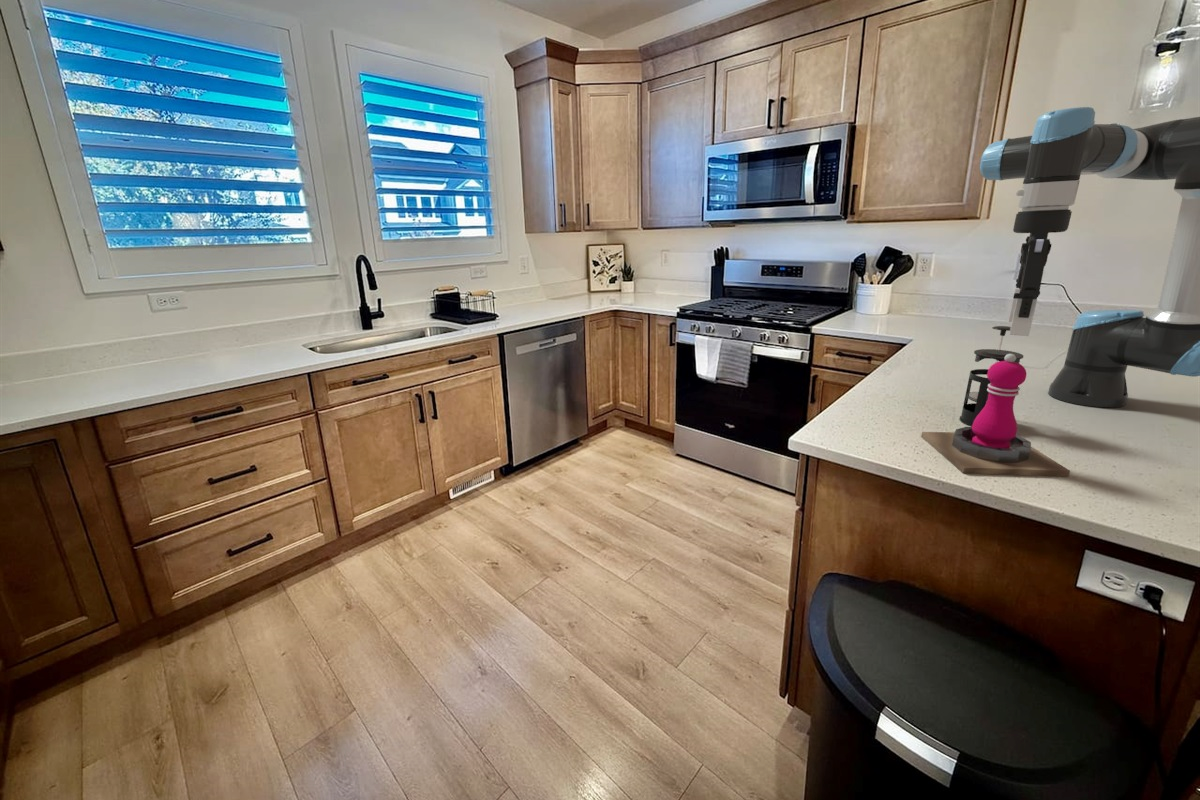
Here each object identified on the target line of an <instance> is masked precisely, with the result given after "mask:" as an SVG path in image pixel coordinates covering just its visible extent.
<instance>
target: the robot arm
mask: <svg viewBox="0 0 1200 800" xmlns="http://www.w3.org/2000/svg"><path fill="white" fill-rule="evenodd" d="M1095 117H1096V111H1095V109H1094V108H1093V107H1089V106H1083V107H1082V106H1078V107H1069V108H1062V109H1057V110H1053V111H1049V112H1045V113H1043V114H1042V115H1040V116H1039V117H1038V118H1037V120H1036V122H1035V125H1034V129H1033V133H1032V135H1027V136H1021V137H1020V136H1019V137H1015V138H1006V139H1003V140H998V141H994V142H991V143H990V144H989V145H988V146H987V147H986V148H985V150H984V151H983V153H982V155H981V157H980V164H979V170H980V171H979V172H980V173H981V174H980V175H981V176H982V177H983V178H984V179H985V180H987V181H1006V180H1013V179H1023V182H1022V187H1021V188H1022V189H1020V190H1017V192H1016V196H1017V197H1020V198H1019V200H1018V201H1019V202H1018V207H1019V208H1020V209H1021V211H1018V212H1017V213H1016V214H1015V219H1014V222H1013V223H1014V224H1013V229H1012V231H1013V233H1015V234H1029V235H1028V236H1027V237H1026V238H1025V243H1024V242H1023V243H1022V244H1021V247H1020V259H1019V264H1020V266H1019V271H1018V275H1017V278H1016V280H1015V282H1016V284H1015V289H1014V293H1013V296H1012V297H1013V298H1012V304H1011V306H1010V310H1009V312H1010V313H1009V317H1008V321H1007V322H1008V323H1011V324H1010V325H1011V326H1010V327H1011V329H1010V331H1009V334H1008V335H1009V336H1020V337H1029V336H1030V332H1031V328H1032V324H1033V320H1034V315H1035V309H1036V306H1037V302H1038V298H1039V296H1040V295H1041V291H1040V290H1041V286H1042V281H1043V275H1044V269H1045V266H1046V264H1047V262H1048V257H1049V254H1050V253H1051V250H1052V243H1051V239H1050V238H1048V236H1049V233H1052V234H1053V233H1055V234H1056V233H1063V232H1066V231H1068V229H1069V226H1070V221H1071V218H1072V217H1071V216H1072V213H1073V211H1071V210H1072V209H1070V206H1073V205H1075V203H1076V197H1077V193H1078V190H1079V185H1080V179H1081V176H1083V175H1084V176H1085V175H1089V176H1090V175H1096V176H1099V177H1100V178H1103V179H1127V180H1139V181H1141V180H1143V181H1162V180H1167V181H1168V180H1175V182H1174V187H1173V190H1174V192H1176V193H1178V194H1179V195H1180V196H1181V202H1180V207H1179V211H1178V216H1177V220H1176V224H1175V229H1174V234H1173V238H1172V243H1171V247H1170V250H1169V251H1170V252H1169V257H1168V260H1167V265H1166V268H1165V269H1166V270H1165V274H1164V279H1163V284H1162V287H1161V291H1160V297H1159V301H1158V306H1157V307H1155V309H1152V310H1151V311H1149V312H1148V313H1147V314H1146V315H1145V313H1144V311H1143V310H1141V309H1140V310H1139V309H1104V310H1103V309H1100V310H1089V311H1084V312H1082V313H1080V314H1078V316H1077V317H1076V321H1075V323H1074V326H1073V328H1072V333H1071V337H1070V341H1069V344H1068V348H1067V353H1066V356H1065V361H1064V365H1063V366H1062V368H1061V370H1060V371H1058V372H1059V373H1057V375H1056V376H1055V378H1054V379H1053V381H1052V382H1051V383H1050V384H1049V388H1048V390H1047V394H1048V395H1049V396H1050V397H1052V398H1053V399H1056V400H1059V401H1062V402H1067V403H1070V404H1071V403H1072V404H1076V405H1080V406H1087V407H1095V408H1096V407H1097V408H1121V407H1124V406H1125V405H1127V401H1128V398H1129V393H1128V386H1127V379H1126V371H1127V368H1128V366H1129V367H1134V368H1139V369H1146V370H1150V371H1154V372H1160V373H1167V374H1170V375H1173V376H1176V375H1178V376H1184V377H1185V376H1187V377H1194V378H1195V377H1200V116H1197V117H1188V118H1182V119H1175V120H1169V121H1164V122H1158V123H1156V124H1155V123H1154V124H1151V125H1148V126H1143V127H1137V128H1131V127H1130V126H1128V125H1123V124H1118V123H1114V122H1113V123H1109V124H1108V123H1107V124H1106V123H1104V124H1102V123H1100V124H1099V123H1097V124H1095V123H1096V120H1095ZM1144 316H1146V317H1144Z"/></svg>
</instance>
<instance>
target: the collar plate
mask: <svg viewBox="0 0 1200 800" xmlns="http://www.w3.org/2000/svg"><path fill="white" fill-rule="evenodd" d="M954 434H955V431H954V432H953V431H952V432H951V431H949V432H948V431H947V432H946V431H945V432H944V431H922V432H921V434H920V435H921V436H920V437H921V438H922V439H923V440H924V441H926V442H927V443H928V444H929V445H930V446H931V447H932V448H934V450H936V451H937V452H938V453H939V454H941V456H942V457H944V458H945V459H946V460H947V461H948V462H950V463H951V464H952V465H953V467H955V468H956V469H958V470H959V471H960V472H961V473H962V474H974V475H976V474H977V475H978V474H979V475H981V474H982V475H1004V476H1007V475H1008V476H1009V475H1010V476H1013V475H1015V476H1037V477H1038V476H1043V477H1069V476H1070V473H1071V470H1070V469H1068V468H1066V467H1065V466H1063V465H1062V464H1060V463H1058V462H1057V461H1056V460H1054V459H1052V458H1051V457H1049V456H1047V455H1046V454H1044V453H1043V452H1040V450H1038V449H1036V448H1035V447H1034V446H1031V450H1030V454H1029V458H1028V460H1025V461H1022V462H1018V463H1002V462H993V461H988V460H983V459H978V458H975V457H972V456H970V455H967V454H964V453H962V452H960V451H958V450H957V449H956V448H955V447H953V446H952V443H953V438H954ZM969 441H972V440H969ZM1010 448H1012V447H1010Z"/></svg>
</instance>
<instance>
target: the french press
mask: <svg viewBox="0 0 1200 800" xmlns="http://www.w3.org/2000/svg"><path fill="white" fill-rule="evenodd" d="M992 329H993V330H997V331H1000V333H999V336H1001V337H1000V341H999V345H998V349H996V348H995V349H994V348H993V349H992V348H991V349H990V348H987V349H985V348H981V349H975V350H974V352H973V354H975V358H974V361H975V363H978V362H980V361H983V360H984V359H986V360H987V359H992V360H995V363H997V362H1000V361H1005V360H1004V358H1005V356H1006V355H1007V354H1014V355H1015V356H1016V360H1015V361H1014V362H1016V363H1019V364H1020V361H1021V359H1022V360H1023V359H1024V355H1023V354H1022V353H1019V352H1015V351H1011V350H1007V349H1006V350H1005V349H1001V348H1002V345H1003V339H1004V337H1005V336H1006V334H1007V332H1010V329H1011V326H1005V325H997V326H996V325H995V326H993V327H992ZM988 370H989V368H988V369H986V368H980V369H978V368H977V369H972V370H969V371H970V372H969V375H968V376H969V377H968V381H967V387H966V390H965V396H964V401H963V406H962V410H961V415H960V416H959V417H958V418H959V421H960V422H961V423H963V424H965V425H966V426H968V427H972V425H973V422H974V420H975V418H976V417H977V415H978V414H979V413H980V412H981V411H982V409H983V408H984V406H985V405H986V403H987V400H988V395H989V392H988V391H987V389H988V384H990V383H991V382H990V381H989V379H988V378H987V377H985V376H984V377H983V376H981V375H986V376H987V372H988ZM979 375H980V376H979ZM973 381H974V382H977V383H979V384H980V385H979V388H978V391H971V388H972V387H971V386H972V382H973ZM969 400H970V401H971V402H973V403H968V402H969ZM974 402H975V403H974Z"/></svg>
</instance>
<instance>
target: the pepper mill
mask: <svg viewBox="0 0 1200 800" xmlns="http://www.w3.org/2000/svg"><path fill="white" fill-rule="evenodd" d="M1004 360H1005V361H1000V362H999V361H998V362H997V363H993V364H991V366H989V368H988V369H989V370H988V372H987V375H986V376H987V377H986V378H988V379H989V381H990V382H991V383H990V384H988V389H987V391H988V392H989V395H988V400H987V403H986V405H985V406H984V408H983V409H982V411H981V412H980V413H979V414H978V415H977V417H976V418H975V420H974V422H973V425H972V426H971V427H972V430H973V432H974V433H975V435H976V436H974V437H973V438H972V442H975V443H978V444H981V445H985V446H990V447H996V448H1010V443H1009V442H1008V441H1010V440H1012V439H1013V438H1014V437H1015V436H1016V435H1017V432H1018V425H1017V424H1018V423H1017V420H1016V417H1015V412H1014V401H1015V398H1016V397H1017V396H1019V394H1020V393H1019V391H1021V388H1020V387H1019V386H1020V385H1022V384H1023V383H1024V382H1025V381H1026V379H1027V370H1026V368H1025V366H1023V365H1022V364H1020V362H1019V363H1016V362H1014V361H1015V360H1016V356H1015V355H1014V354H1007V355H1006V356H1005V358H1004Z"/></svg>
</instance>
